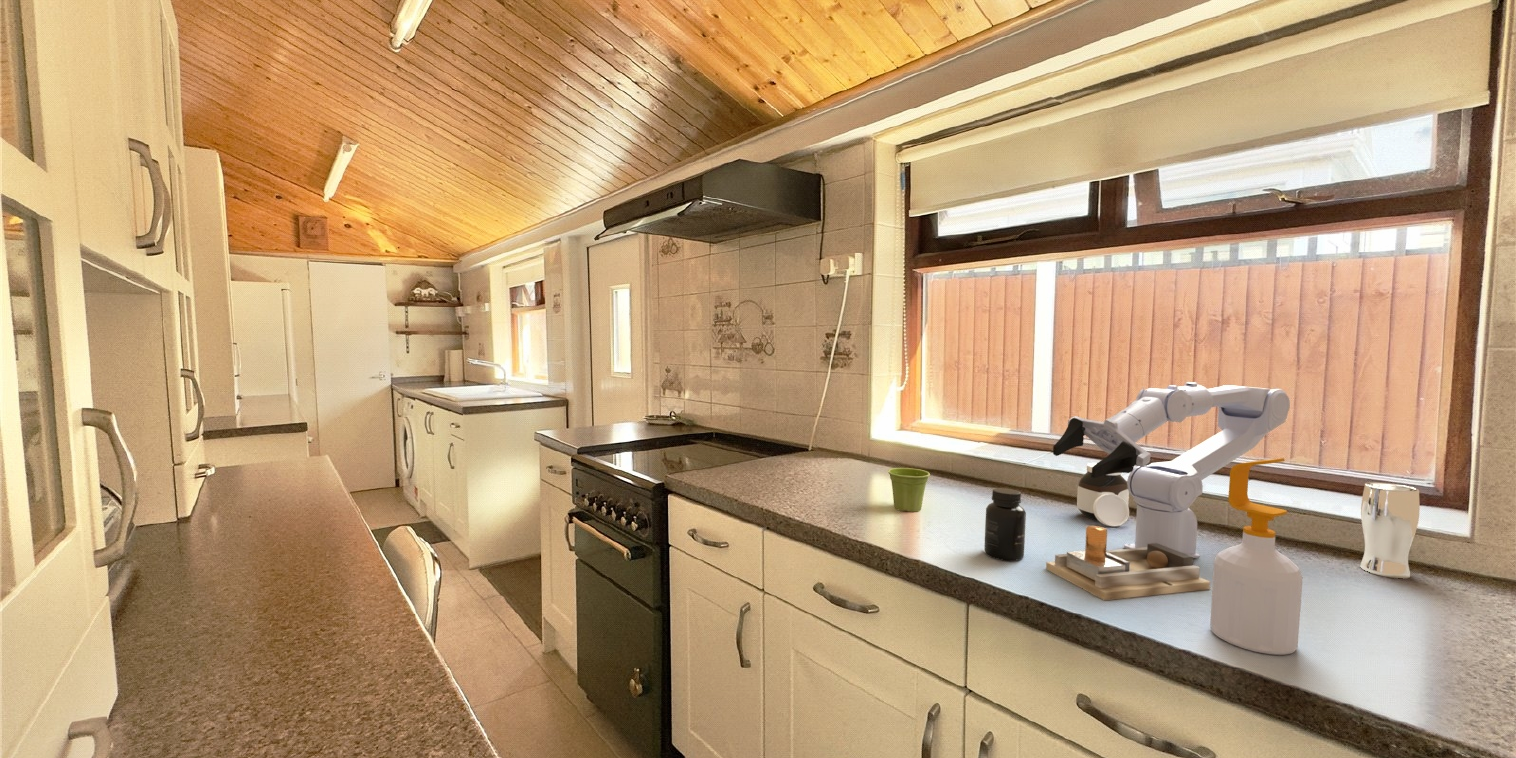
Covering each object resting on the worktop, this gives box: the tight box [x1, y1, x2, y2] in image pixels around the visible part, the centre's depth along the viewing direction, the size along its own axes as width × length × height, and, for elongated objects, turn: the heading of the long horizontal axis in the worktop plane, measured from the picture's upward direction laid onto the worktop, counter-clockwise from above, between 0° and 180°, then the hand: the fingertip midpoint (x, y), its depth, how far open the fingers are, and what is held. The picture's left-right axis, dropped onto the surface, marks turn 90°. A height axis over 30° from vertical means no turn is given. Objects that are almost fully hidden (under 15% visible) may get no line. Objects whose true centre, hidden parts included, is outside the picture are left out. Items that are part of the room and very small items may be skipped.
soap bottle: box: [1209, 457, 1303, 656], centre depth 81 cm, size 9×9×25 cm
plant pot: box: [887, 467, 931, 513], centre depth 143 cm, size 9×9×9 cm
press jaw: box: [1066, 525, 1130, 580], centre depth 101 cm, size 6×7×7 cm
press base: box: [1045, 543, 1211, 601], centre depth 102 cm, size 20×13×4 cm, turn 103°
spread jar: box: [1076, 462, 1130, 527], centre depth 135 cm, size 12×11×12 cm
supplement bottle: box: [983, 487, 1027, 562], centre depth 113 cm, size 7×7×12 cm
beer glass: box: [1359, 481, 1421, 580], centre depth 106 cm, size 7×7×15 cm
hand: (1073, 461), depth 106 cm, fingers open, 7 cm apart
